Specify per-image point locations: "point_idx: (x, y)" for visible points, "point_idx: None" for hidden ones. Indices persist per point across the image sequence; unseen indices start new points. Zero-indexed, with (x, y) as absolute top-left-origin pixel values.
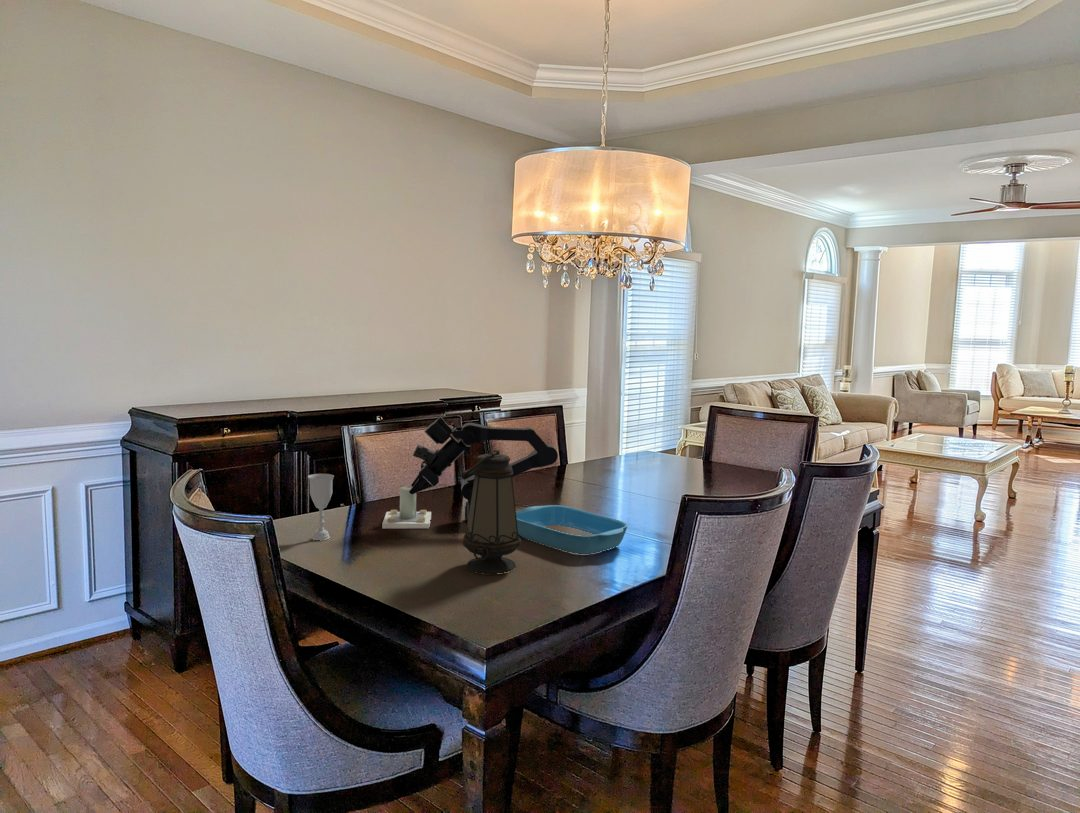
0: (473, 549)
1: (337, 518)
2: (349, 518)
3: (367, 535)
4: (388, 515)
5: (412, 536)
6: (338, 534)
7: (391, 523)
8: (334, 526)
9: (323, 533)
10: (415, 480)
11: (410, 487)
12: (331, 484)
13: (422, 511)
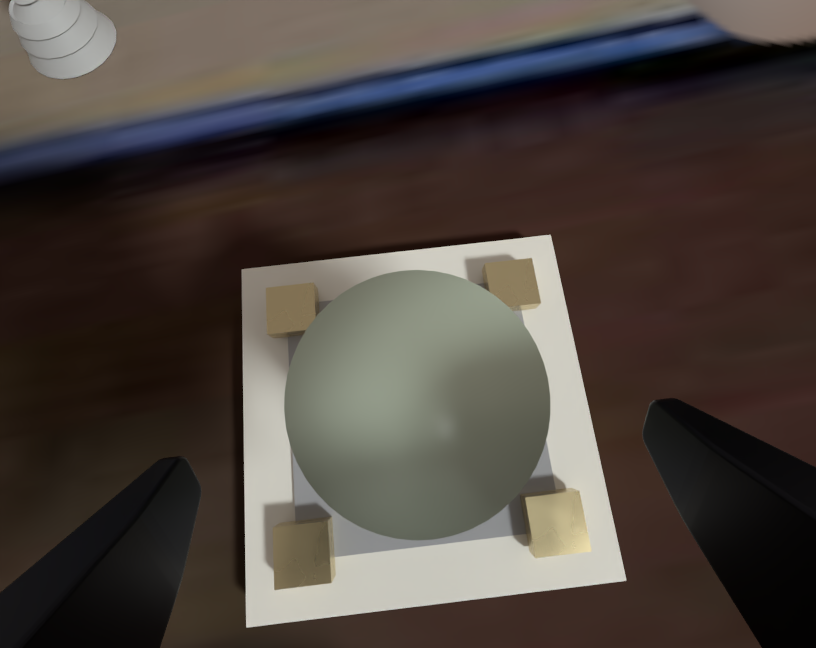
0: None
1: (447, 17)
2: (456, 68)
3: (112, 232)
4: (451, 265)
5: (66, 511)
6: (142, 93)
7: (245, 327)
8: (291, 41)
9: (12, 25)
10: (743, 486)
11: (483, 420)
12: None
13: (528, 520)
